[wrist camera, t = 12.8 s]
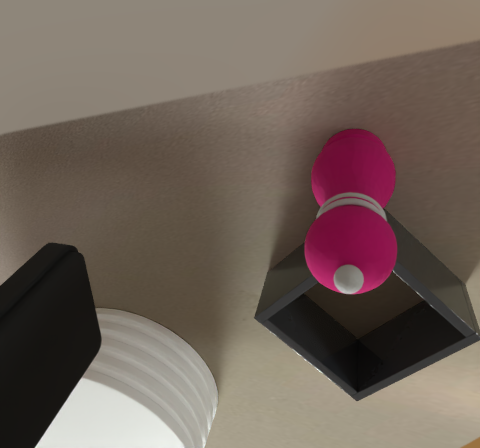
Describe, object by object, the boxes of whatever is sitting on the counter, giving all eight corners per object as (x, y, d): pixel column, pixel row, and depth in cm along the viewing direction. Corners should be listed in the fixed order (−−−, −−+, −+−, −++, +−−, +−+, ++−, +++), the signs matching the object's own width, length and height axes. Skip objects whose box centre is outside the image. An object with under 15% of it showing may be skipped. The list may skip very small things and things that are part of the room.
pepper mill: (315, 123, 42) (284, 233, 25) (395, 122, 40) (420, 238, 24) (315, 192, 46) (289, 328, 29) (389, 194, 44) (407, 339, 27)
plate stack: (141, 282, 58) (98, 347, 48) (253, 421, 67) (235, 499, 57) (12, 337, 70) (-44, 398, 60) (121, 448, 79) (88, 516, 69)
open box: (366, 192, 44) (367, 233, 38) (465, 284, 47) (483, 339, 40) (267, 271, 52) (253, 318, 45) (357, 347, 55) (357, 401, 48)
